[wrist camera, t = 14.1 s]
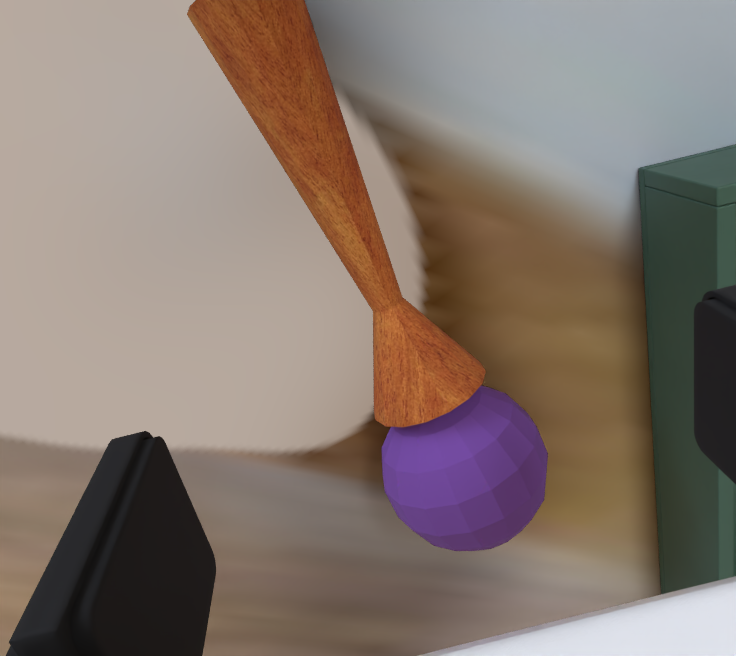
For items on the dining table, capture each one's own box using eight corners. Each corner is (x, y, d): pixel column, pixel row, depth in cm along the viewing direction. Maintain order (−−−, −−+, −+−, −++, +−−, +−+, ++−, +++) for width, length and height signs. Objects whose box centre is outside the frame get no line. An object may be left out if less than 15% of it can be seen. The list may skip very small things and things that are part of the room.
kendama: (354, -98, 15) (604, 528, 21) (317, -19, 21) (522, 455, 26) (129, 2, 14) (452, 618, 20) (154, 55, 20) (401, 524, 26)
